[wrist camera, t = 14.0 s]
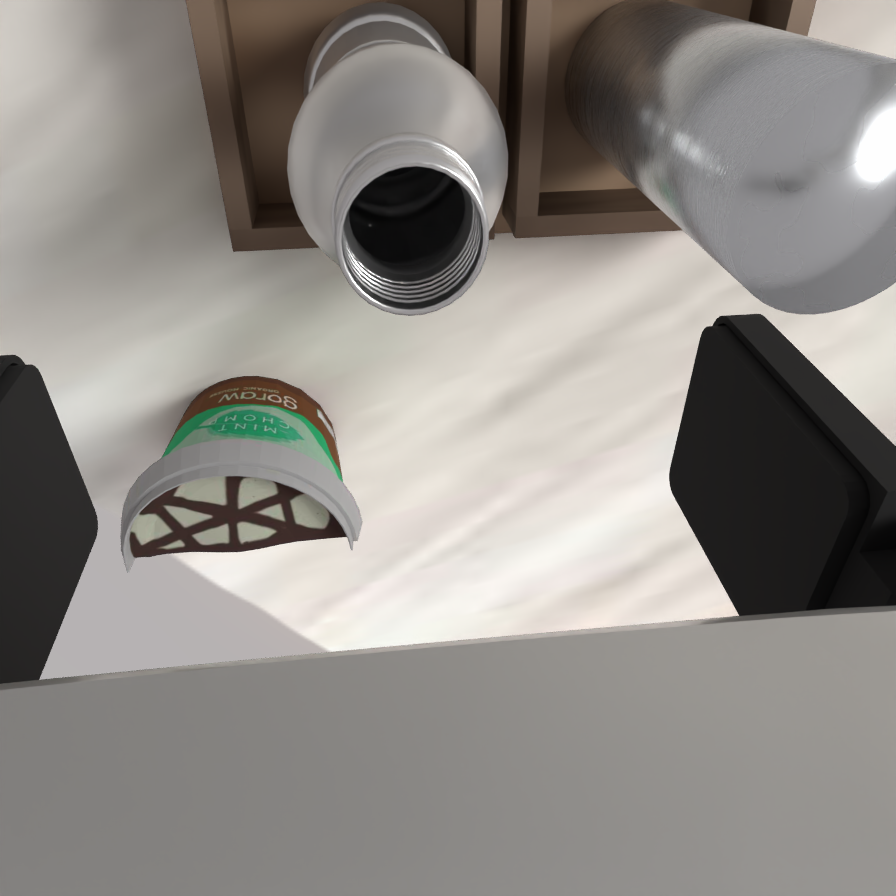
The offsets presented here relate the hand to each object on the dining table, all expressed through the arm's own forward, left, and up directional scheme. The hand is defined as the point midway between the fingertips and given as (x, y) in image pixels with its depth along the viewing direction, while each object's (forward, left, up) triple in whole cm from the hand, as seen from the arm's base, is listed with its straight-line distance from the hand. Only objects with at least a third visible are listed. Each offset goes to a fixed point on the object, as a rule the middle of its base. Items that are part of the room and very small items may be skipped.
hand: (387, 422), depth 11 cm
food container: (+17, -8, -29) cm, 34 cm away
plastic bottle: (0, +1, -28) cm, 28 cm away
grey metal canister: (0, +13, -27) cm, 30 cm away
